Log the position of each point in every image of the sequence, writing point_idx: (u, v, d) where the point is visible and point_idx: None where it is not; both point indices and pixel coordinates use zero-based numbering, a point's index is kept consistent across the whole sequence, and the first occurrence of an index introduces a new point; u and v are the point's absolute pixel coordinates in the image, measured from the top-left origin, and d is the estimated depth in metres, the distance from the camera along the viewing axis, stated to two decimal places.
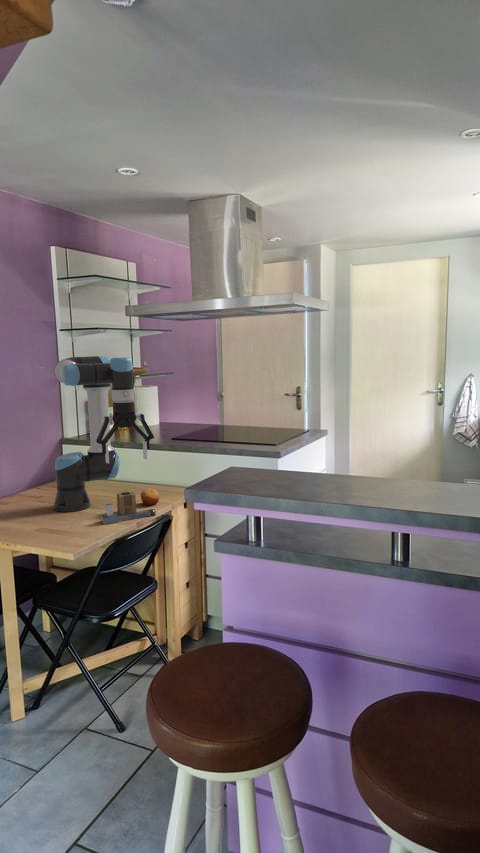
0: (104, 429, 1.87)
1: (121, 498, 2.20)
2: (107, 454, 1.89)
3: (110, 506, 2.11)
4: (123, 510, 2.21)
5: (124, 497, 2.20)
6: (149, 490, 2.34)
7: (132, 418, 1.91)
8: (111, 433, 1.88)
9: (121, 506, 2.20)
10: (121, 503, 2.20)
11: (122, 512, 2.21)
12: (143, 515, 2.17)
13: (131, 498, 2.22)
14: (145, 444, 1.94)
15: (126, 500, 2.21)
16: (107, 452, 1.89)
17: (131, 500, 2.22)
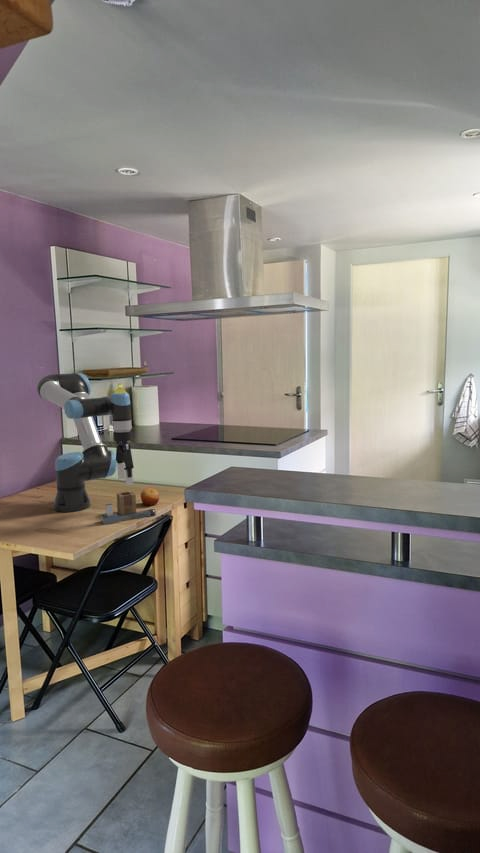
0: (116, 450, 2.27)
1: (121, 498, 2.20)
2: (118, 471, 2.28)
3: (110, 506, 2.11)
4: (123, 510, 2.21)
5: (124, 497, 2.20)
6: (149, 490, 2.34)
7: (122, 446, 2.18)
8: (118, 455, 2.25)
9: (121, 506, 2.20)
10: (121, 503, 2.20)
11: (122, 512, 2.21)
12: (143, 515, 2.17)
13: (131, 498, 2.22)
14: (125, 472, 2.15)
15: (126, 500, 2.21)
16: None
17: (131, 500, 2.22)
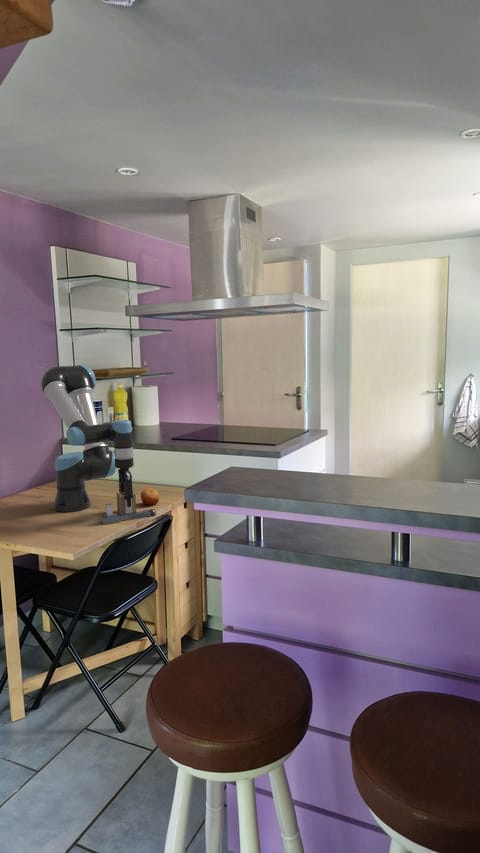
0: (119, 480, 2.28)
1: (121, 498, 2.20)
2: None
3: (110, 506, 2.11)
4: (123, 510, 2.21)
5: (124, 497, 2.20)
6: (149, 490, 2.34)
7: (123, 473, 2.19)
8: (120, 484, 2.25)
9: (121, 506, 2.20)
10: (121, 503, 2.20)
11: (122, 512, 2.21)
12: (143, 515, 2.17)
13: None
14: (125, 501, 2.20)
15: None
16: None
17: None
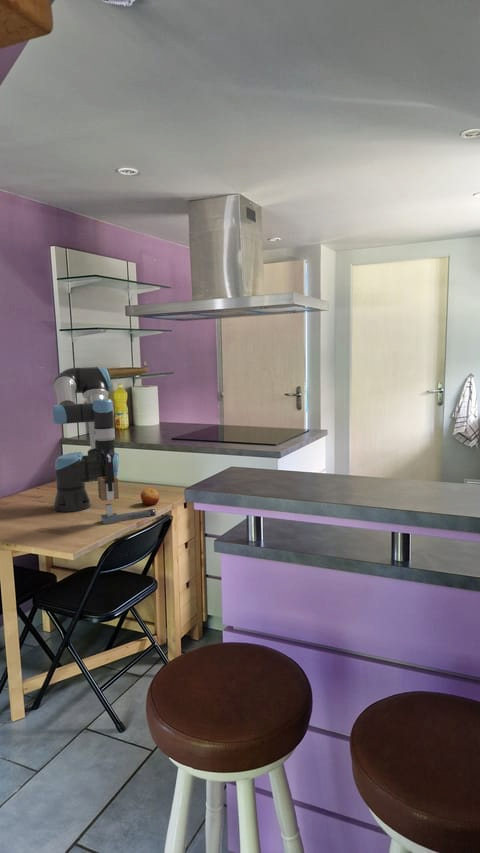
0: (100, 463, 2.14)
1: (102, 482, 2.06)
2: None
3: (110, 506, 2.11)
4: (104, 495, 2.07)
5: (105, 481, 2.07)
6: (149, 490, 2.34)
7: (104, 455, 2.06)
8: (101, 468, 2.12)
9: (102, 491, 2.07)
10: (102, 487, 2.07)
11: (103, 497, 2.07)
12: (143, 515, 2.17)
13: (113, 482, 2.08)
14: (106, 486, 2.07)
15: None
16: None
17: (113, 484, 2.08)
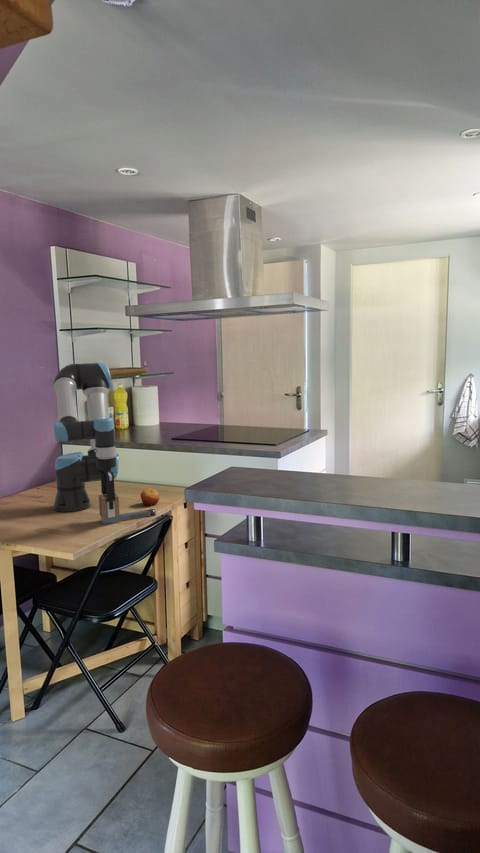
0: (101, 480, 2.15)
1: (103, 500, 2.08)
2: None
3: None
4: (105, 513, 2.09)
5: (106, 499, 2.08)
6: (149, 490, 2.34)
7: (105, 473, 2.07)
8: (102, 485, 2.13)
9: (103, 509, 2.08)
10: (103, 506, 2.08)
11: (104, 515, 2.08)
12: (143, 515, 2.17)
13: (114, 500, 2.09)
14: (107, 503, 2.08)
15: None
16: None
17: (114, 502, 2.10)
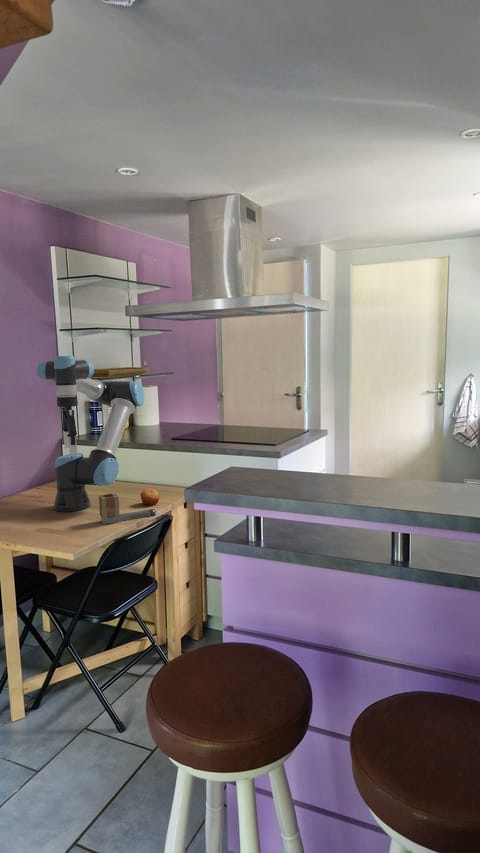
0: (62, 418, 2.14)
1: (103, 500, 2.08)
2: (64, 440, 2.15)
3: None
4: (105, 513, 2.09)
5: (106, 499, 2.08)
6: (149, 490, 2.34)
7: (66, 412, 2.05)
8: (63, 422, 2.13)
9: (103, 509, 2.08)
10: (103, 506, 2.08)
11: (104, 515, 2.08)
12: (143, 515, 2.17)
13: (114, 500, 2.09)
14: (68, 439, 2.03)
15: (109, 503, 2.09)
16: (64, 438, 2.15)
17: (114, 502, 2.10)
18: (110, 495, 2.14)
